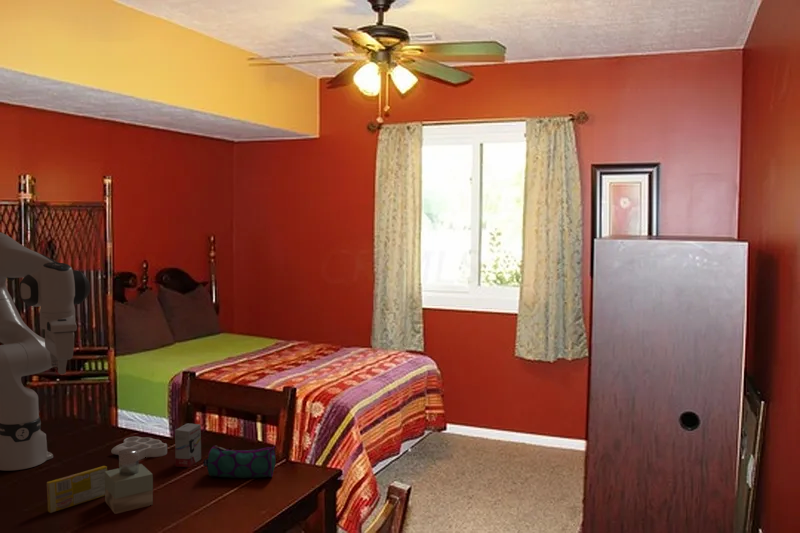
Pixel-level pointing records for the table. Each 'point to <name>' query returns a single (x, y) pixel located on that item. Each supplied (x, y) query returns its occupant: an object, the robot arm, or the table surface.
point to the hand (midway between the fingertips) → (58, 370)
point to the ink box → (187, 445)
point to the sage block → (128, 482)
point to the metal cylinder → (128, 462)
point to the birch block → (128, 501)
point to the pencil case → (240, 462)
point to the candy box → (76, 489)
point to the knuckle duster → (142, 447)
